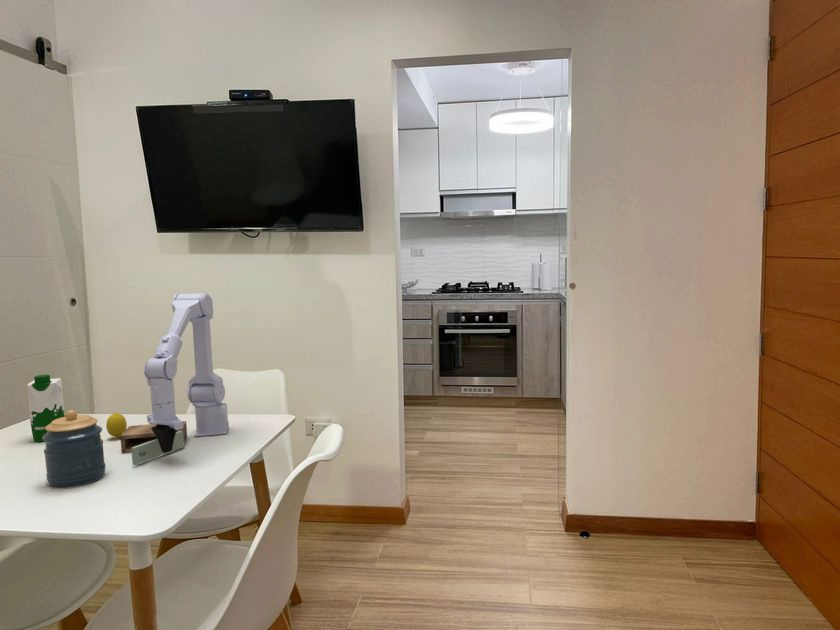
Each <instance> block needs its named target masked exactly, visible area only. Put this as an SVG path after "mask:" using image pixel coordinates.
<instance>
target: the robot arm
mask: <svg viewBox="0 0 840 630" xmlns="http://www.w3.org/2000/svg"><path fill="white" fill-rule="evenodd" d="M171 300H172V302H171V308H172V309H171V310H172V313H173V315H172V318H171V321H170V324H169V328H168V331H167V334H164V335H162V337H160V340H159V343H158V344H157V347H156V350H155V352H154V354H153V357H151V358H149V359H148V360H147V361H146V363H145V365H144V370H143V373H144V377H145V378H146V381H147V385H148V387H149V388H150V403H151V414H148V415H146V420H147V423H148V424H152V425H153V424H157V425H156V426H155V427H152V428H151V429H152V431H153V432H154V434H155V435H156V437H157V439H158V442H159V444H160V447H161V450H162V452H164V453H166V452H169V453H171V452H170V451H172V447H173V442H174V437H175V435H176V432H177V430H179V429H183V421H184V420H181V419H180V418H179V417H178V416H177V414H176V412H177V411H176V401H175V400H176V399H175V387H174V379H175V378H174V377H176V375H177V371H178V360H177V359H178V356H179V354H180V351H181V349H182V347H183V340H182V339H181V338H182V335H183V334H184V332H185V330H186V328H187V326H188V325H189V322H190V323H191V325H192V336H193V337H192V338H193V339H192V340H193V353H194V355H193V356H194V372H195V374H194V375H193V376H192V377H190V379H188V386H187V388H188V389H187V393H186V394H187V399H188V401H189V403H191V404H192V407H194V410H195V411H194V412H195V424H196V425H195V426H196V429H195V432H194V434H193V436H194V437H197V438H198V437H208V436H215V435H216V436H217V435H225V434H228V431H229V426H230V423H229V422H230V421H229V417H228V416H229V415H228V414H229V413H228V405H227V403H226V402H223V401H224V399H225V396H226V388H225V386H224V383H223V382H224V380H223V378H222V377H221V376H220V375H219V374H217V373H215V372H214V369H213V352H212V351H213V350H212V337H211V322H210V320H212V319H214V305H213V299H212V297H211V296H210V294H209V293H207V292H201V293H198V292H197V293H178V292H177V293H176V294H175V295H174V296H173V298H172V299H171ZM172 452H173V451H172ZM166 454H167V453H166Z"/></svg>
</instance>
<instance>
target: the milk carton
mask: <svg viewBox="0 0 840 630" xmlns="http://www.w3.org/2000/svg"><path fill="white" fill-rule="evenodd" d="M62 382H63V381H62V378H61V377H59V378H51V375H50V374H39V375H35V376H34V379H33V381H30V382H29V383H28V384H26V391H27V392H26V393H27V400H28V403H27V404H28V411H29V419H30V428H31V434H32V439H33V443H35V444H36V443H45V441H43V439H42V437H43V436H44V435H45V434H46V433H47V432H48V431H47V430H46V429H45V427H46V426H47V425H49V424H50V423H51V422H52V421H54V420H56V419H58V418H62V417H65V413H66V411H65V410H66V409H65V401H64V393H63V390H64V389H63V383H62Z"/></svg>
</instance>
